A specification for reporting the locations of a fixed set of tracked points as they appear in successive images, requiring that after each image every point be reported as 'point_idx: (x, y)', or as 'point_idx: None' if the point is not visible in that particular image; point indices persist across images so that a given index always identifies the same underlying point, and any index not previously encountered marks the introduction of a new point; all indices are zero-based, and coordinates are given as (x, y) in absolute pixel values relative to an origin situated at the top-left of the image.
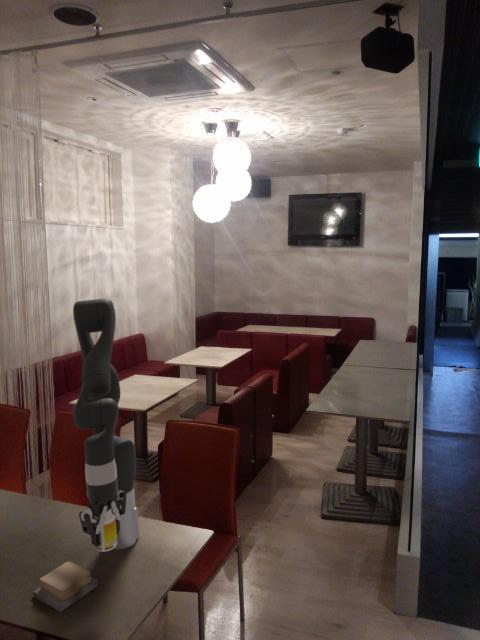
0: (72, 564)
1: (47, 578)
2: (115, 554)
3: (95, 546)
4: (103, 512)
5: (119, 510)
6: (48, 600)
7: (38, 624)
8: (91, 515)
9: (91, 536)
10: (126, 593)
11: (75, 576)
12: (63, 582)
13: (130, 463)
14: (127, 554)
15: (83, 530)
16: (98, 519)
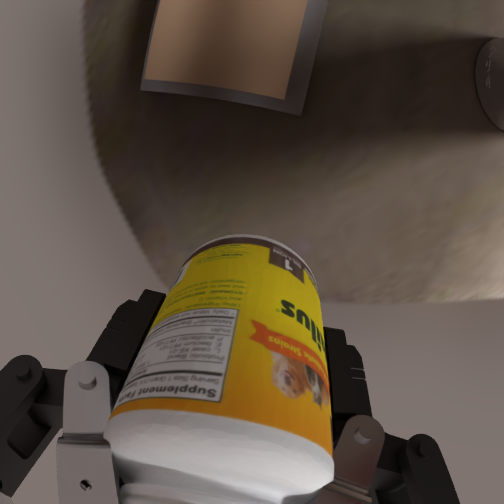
0: (299, 2)
1: None
2: (457, 90)
3: (181, 268)
4: None
5: (386, 485)
6: (150, 33)
7: (92, 74)
8: (61, 494)
9: (95, 348)
10: (293, 222)
11: (234, 62)
12: (185, 46)
13: None
14: (465, 130)
15: (3, 376)
16: (132, 480)
